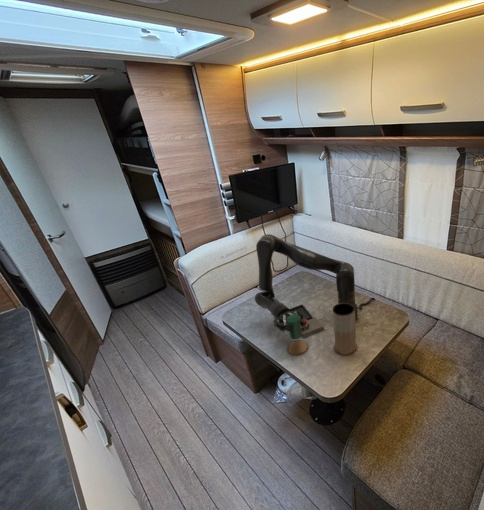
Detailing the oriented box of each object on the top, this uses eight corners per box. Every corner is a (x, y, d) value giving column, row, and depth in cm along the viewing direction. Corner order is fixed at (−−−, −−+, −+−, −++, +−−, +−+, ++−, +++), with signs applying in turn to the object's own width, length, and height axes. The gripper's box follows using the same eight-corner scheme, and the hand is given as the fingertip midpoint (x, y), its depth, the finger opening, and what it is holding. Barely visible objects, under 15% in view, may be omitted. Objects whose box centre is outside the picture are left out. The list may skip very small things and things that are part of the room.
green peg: (292, 330, 137) (290, 313, 132) (304, 331, 135) (302, 315, 131) (287, 338, 131) (285, 321, 127) (299, 340, 130) (297, 323, 126)
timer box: (315, 320, 156) (314, 314, 154) (323, 329, 148) (322, 323, 147) (295, 327, 151) (294, 321, 149) (302, 338, 143) (301, 331, 141)
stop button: (304, 320, 150) (304, 317, 150) (307, 324, 148) (307, 321, 147) (298, 322, 149) (298, 320, 148) (301, 326, 146) (300, 323, 145)
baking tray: (302, 306, 168) (302, 304, 168) (312, 319, 157) (312, 316, 156) (275, 316, 161) (274, 314, 160) (283, 330, 149) (283, 327, 149)
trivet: (303, 339, 142) (302, 338, 142) (310, 350, 135) (310, 349, 135) (286, 346, 138) (286, 345, 138) (292, 357, 131) (292, 356, 131)
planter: (337, 339, 141) (335, 301, 132) (357, 340, 139) (356, 303, 130) (333, 353, 132) (330, 314, 123) (354, 355, 130) (352, 316, 121)
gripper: (265, 310, 135) (282, 327, 123) (291, 299, 143) (309, 313, 131) (267, 323, 138) (284, 340, 126) (292, 311, 146) (310, 326, 135)
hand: (297, 326), depth 129 cm, fingers closed on green peg, 6 cm apart
